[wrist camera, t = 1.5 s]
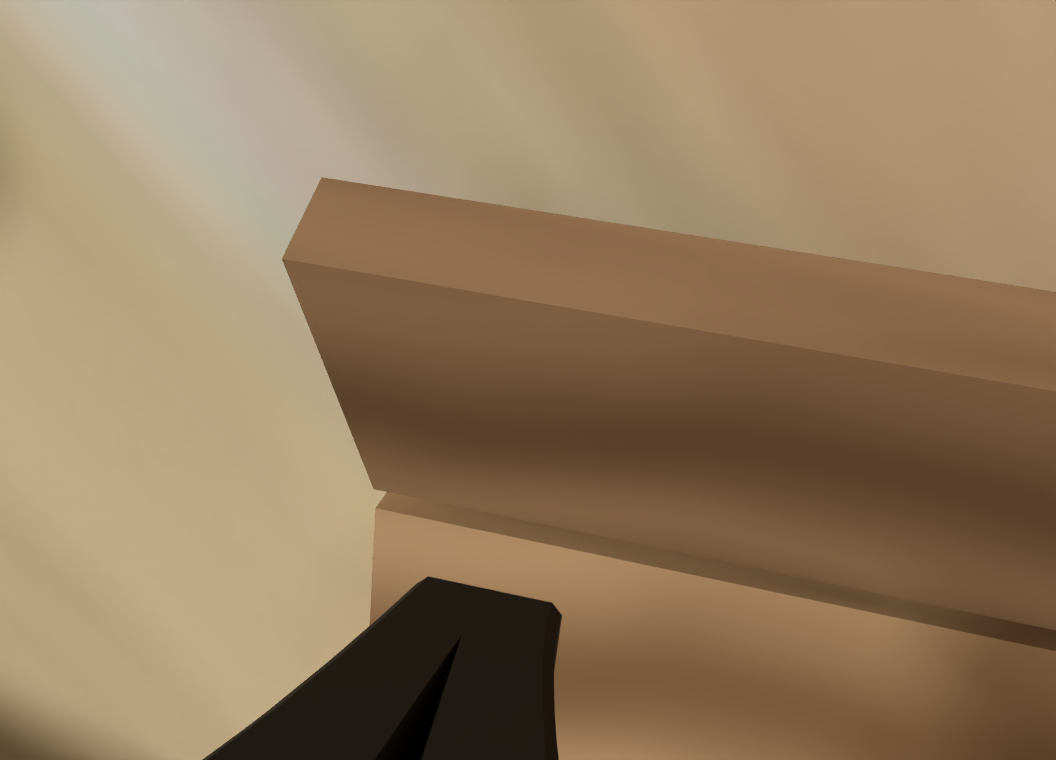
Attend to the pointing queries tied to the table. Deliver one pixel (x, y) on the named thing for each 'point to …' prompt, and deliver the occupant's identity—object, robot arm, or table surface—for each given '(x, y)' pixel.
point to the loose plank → (694, 393)
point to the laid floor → (735, 650)
